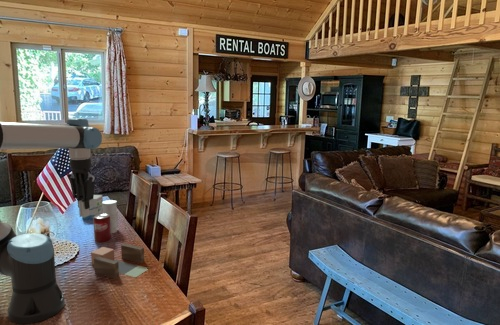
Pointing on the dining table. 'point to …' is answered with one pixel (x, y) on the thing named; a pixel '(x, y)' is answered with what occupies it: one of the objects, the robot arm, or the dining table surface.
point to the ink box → (95, 206)
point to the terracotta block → (103, 254)
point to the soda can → (102, 228)
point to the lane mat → (129, 269)
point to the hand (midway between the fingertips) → (84, 216)
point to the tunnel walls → (112, 267)
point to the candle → (111, 213)
